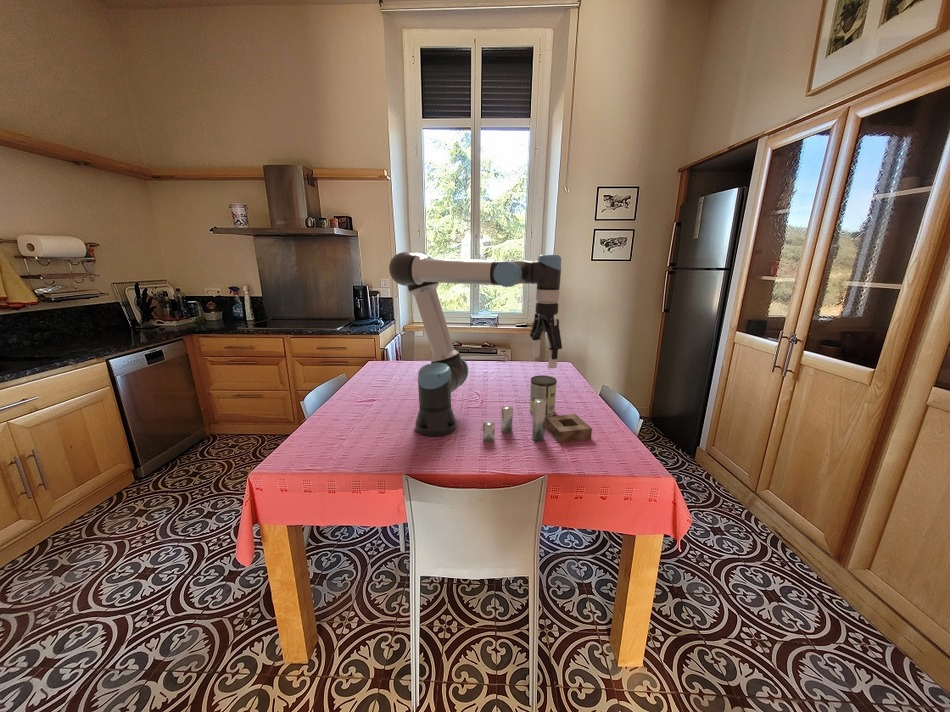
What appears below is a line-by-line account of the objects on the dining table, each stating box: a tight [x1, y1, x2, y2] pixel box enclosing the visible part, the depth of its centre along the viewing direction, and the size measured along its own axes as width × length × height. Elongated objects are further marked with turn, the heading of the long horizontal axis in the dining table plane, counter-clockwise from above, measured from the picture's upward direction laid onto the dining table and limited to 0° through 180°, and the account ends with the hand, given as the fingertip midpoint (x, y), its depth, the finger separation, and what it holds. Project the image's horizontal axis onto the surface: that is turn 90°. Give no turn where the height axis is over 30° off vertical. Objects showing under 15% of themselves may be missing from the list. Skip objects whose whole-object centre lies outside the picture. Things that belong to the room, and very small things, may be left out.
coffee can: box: [529, 374, 558, 418], centre depth 143 cm, size 10×10×14 cm
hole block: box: [545, 413, 593, 443], centre depth 127 cm, size 12×12×4 cm
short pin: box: [482, 420, 496, 443], centre depth 122 cm, size 4×4×6 cm
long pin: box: [531, 399, 546, 442], centre depth 121 cm, size 4×4×14 cm
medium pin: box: [500, 405, 514, 434], centre depth 128 cm, size 4×4×9 cm
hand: (543, 362), depth 125 cm, fingers open, 13 cm apart
